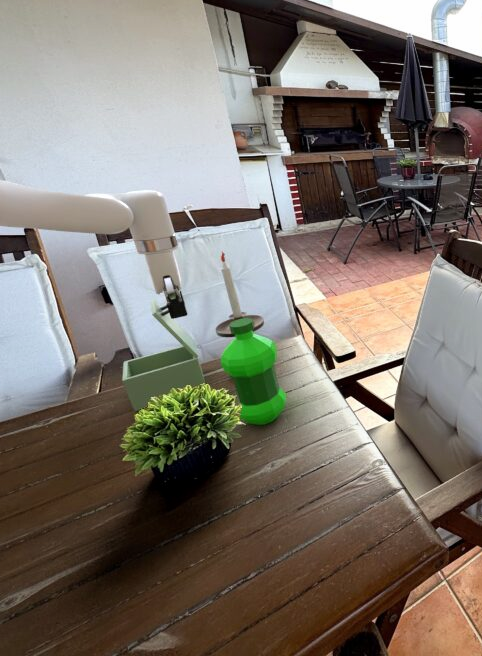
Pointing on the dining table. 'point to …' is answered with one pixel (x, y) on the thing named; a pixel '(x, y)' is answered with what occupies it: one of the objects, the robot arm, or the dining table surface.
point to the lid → (173, 327)
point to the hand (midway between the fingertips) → (178, 311)
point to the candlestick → (234, 305)
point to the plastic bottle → (253, 373)
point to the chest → (160, 374)
